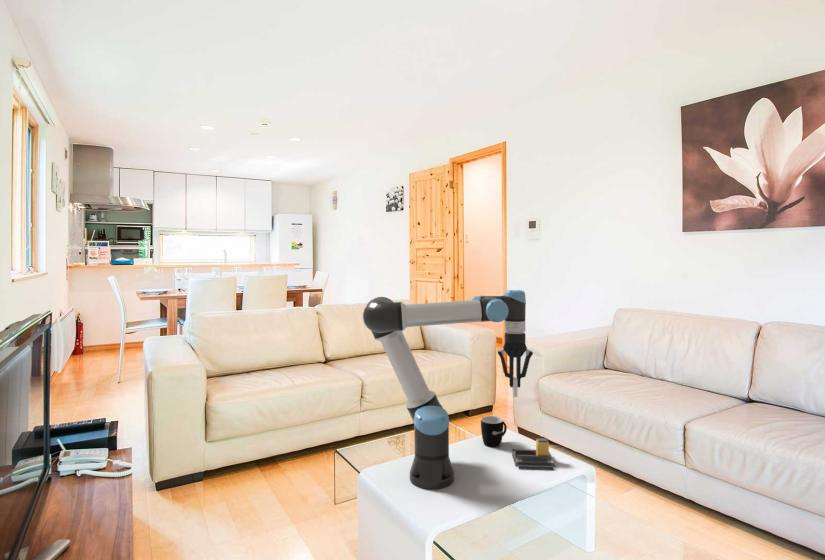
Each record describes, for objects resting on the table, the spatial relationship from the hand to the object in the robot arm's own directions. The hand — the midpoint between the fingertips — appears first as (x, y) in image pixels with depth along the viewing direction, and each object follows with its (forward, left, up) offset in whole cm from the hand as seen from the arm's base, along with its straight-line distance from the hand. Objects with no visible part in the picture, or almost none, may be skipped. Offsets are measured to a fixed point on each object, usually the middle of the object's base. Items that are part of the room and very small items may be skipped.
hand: (514, 395), depth 174 cm
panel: (+7, 0, -24) cm, 25 cm away
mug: (-6, +16, -25) cm, 30 cm away
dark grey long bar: (+7, -7, -24) cm, 26 cm away
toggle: (+10, 0, -23) cm, 25 cm away
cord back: (+6, +8, -24) cm, 26 cm away
